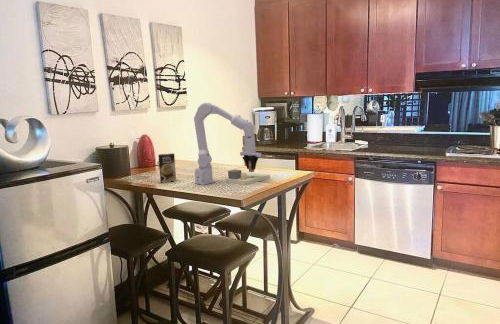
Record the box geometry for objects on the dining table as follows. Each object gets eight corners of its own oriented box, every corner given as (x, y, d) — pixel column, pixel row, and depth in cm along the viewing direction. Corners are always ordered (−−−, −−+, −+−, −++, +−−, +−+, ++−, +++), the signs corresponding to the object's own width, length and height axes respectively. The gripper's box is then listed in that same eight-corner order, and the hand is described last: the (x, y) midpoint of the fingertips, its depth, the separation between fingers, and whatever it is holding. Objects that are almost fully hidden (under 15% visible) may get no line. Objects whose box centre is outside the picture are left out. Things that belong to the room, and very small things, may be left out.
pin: (250, 172, 206) (250, 161, 205) (247, 171, 208) (247, 160, 208) (255, 171, 207) (255, 160, 207) (252, 170, 210) (252, 160, 209)
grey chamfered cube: (234, 179, 205) (234, 171, 204) (228, 178, 209) (227, 170, 208) (241, 177, 208) (241, 170, 208) (235, 176, 212) (234, 169, 211)
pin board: (244, 185, 198) (243, 175, 198) (225, 181, 209) (225, 173, 208) (270, 178, 212) (269, 169, 211) (251, 175, 223) (250, 167, 222)
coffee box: (160, 183, 216) (157, 155, 213) (160, 181, 222) (158, 154, 220) (176, 181, 218) (174, 154, 215) (176, 179, 224) (174, 152, 221)
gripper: (264, 144, 203) (265, 169, 205) (245, 143, 213) (247, 166, 215) (255, 145, 198) (256, 171, 200) (236, 144, 208) (238, 168, 211)
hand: (251, 169), depth 208 cm, fingers closed on pin, 3 cm apart
